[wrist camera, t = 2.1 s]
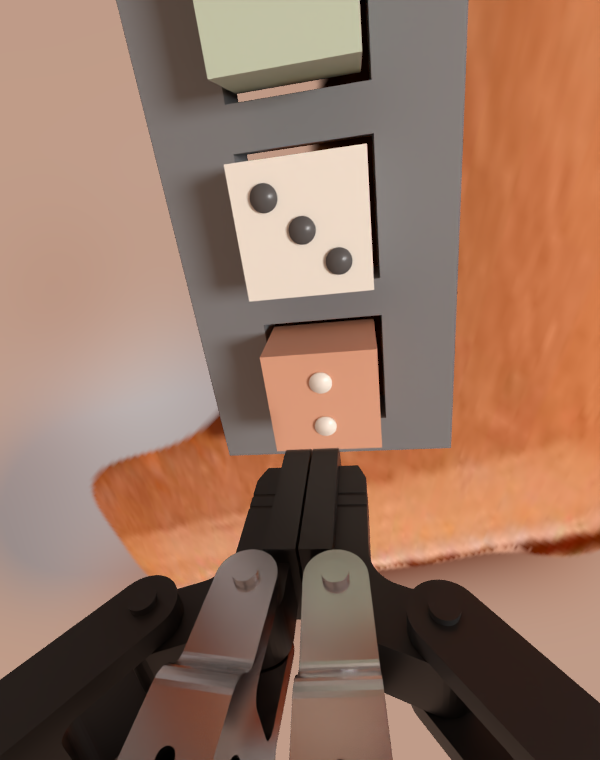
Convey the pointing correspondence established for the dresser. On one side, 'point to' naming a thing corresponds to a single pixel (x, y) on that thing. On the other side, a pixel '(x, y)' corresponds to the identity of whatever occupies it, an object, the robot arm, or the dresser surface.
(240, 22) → the sage button
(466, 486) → the dresser surface
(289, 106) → the button panel
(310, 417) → the terracotta button
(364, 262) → the cream button
